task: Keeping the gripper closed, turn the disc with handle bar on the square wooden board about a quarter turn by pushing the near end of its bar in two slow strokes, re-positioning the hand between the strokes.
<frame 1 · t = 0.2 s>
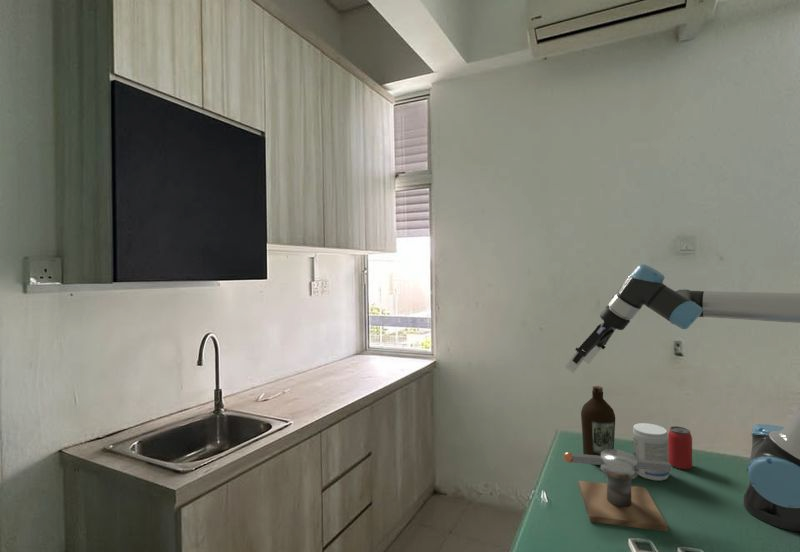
hand: (577, 365, 131), 35 cm above the table, tool tilted 35°, fingers open, 13 cm apart
supplement tub: (650, 474, 131), on the table
beer can: (680, 466, 136), on the table
disc with handle bar: (614, 463, 115), point 12 cm above the table, hinge at 0.0°
olive oil: (598, 459, 142), on the table
square wooden board: (619, 506, 115), on the table
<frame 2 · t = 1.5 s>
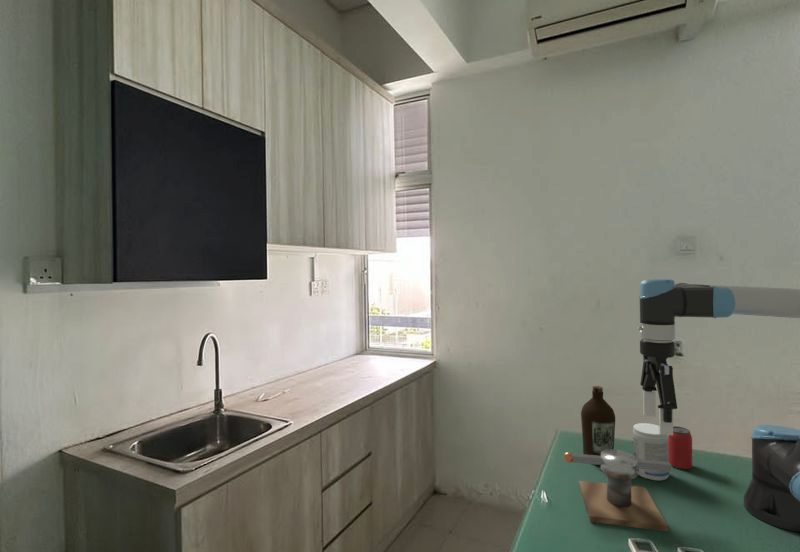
hand: (657, 424, 105), 26 cm above the table, tool pointing down, fingers open, 12 cm apart
nothing on the table moved.
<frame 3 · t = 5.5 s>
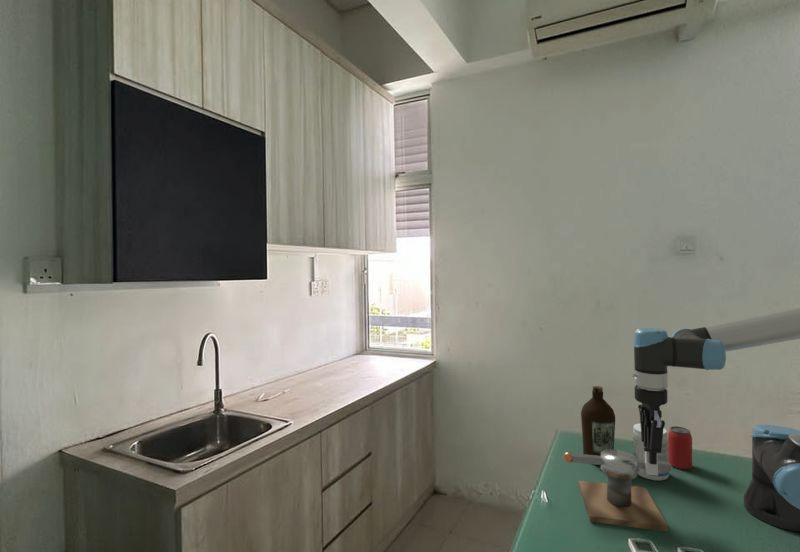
hand: (651, 473, 111), 11 cm above the table, tool pointing down, fingers closed
disc with handle bar: (614, 463, 115), point 12 cm above the table, hinge at 0.0°, touching gripper
everything else where it was.
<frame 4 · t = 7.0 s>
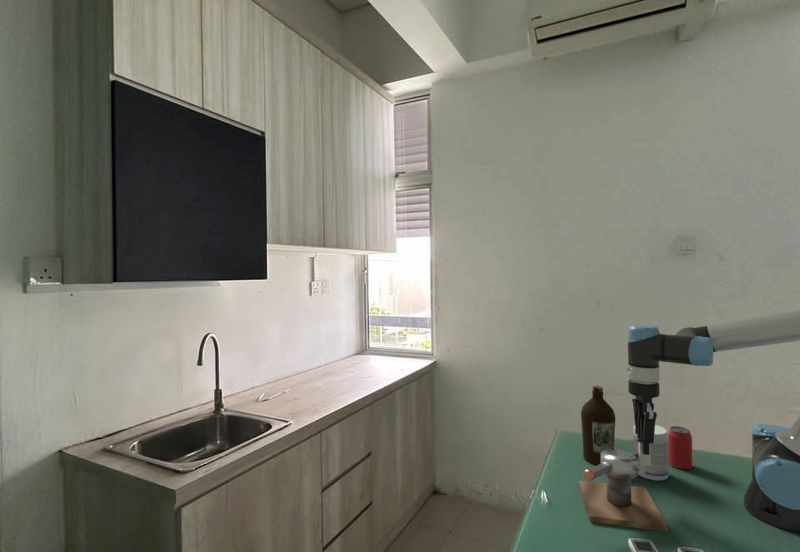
hand: (644, 463, 116), 11 cm above the table, tool pointing down, fingers closed
disc with handle bar: (616, 464, 114), point 12 cm above the table, hinge at 44.9°, touching gripper
everything else where it was.
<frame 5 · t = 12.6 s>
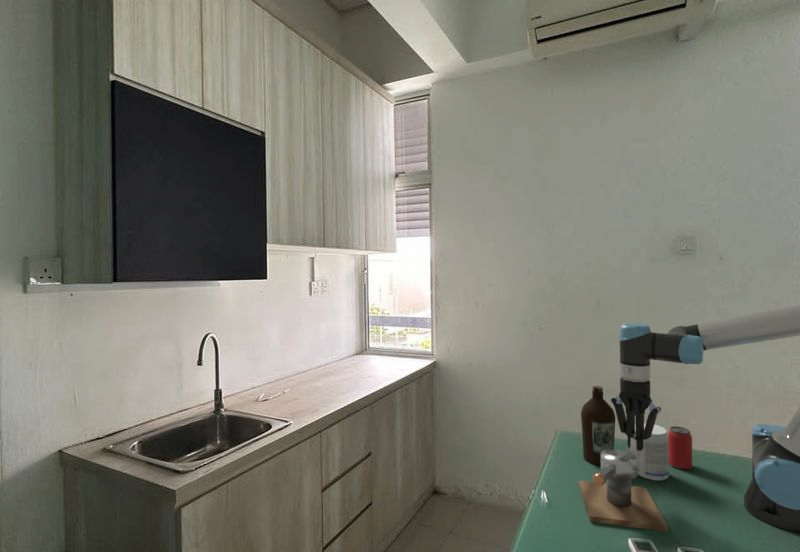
hand: (635, 459, 118), 11 cm above the table, tool pointing down, fingers closed
disc with handle bar: (617, 464, 114), point 12 cm above the table, hinge at 57.0°, touching gripper
everything else where it was.
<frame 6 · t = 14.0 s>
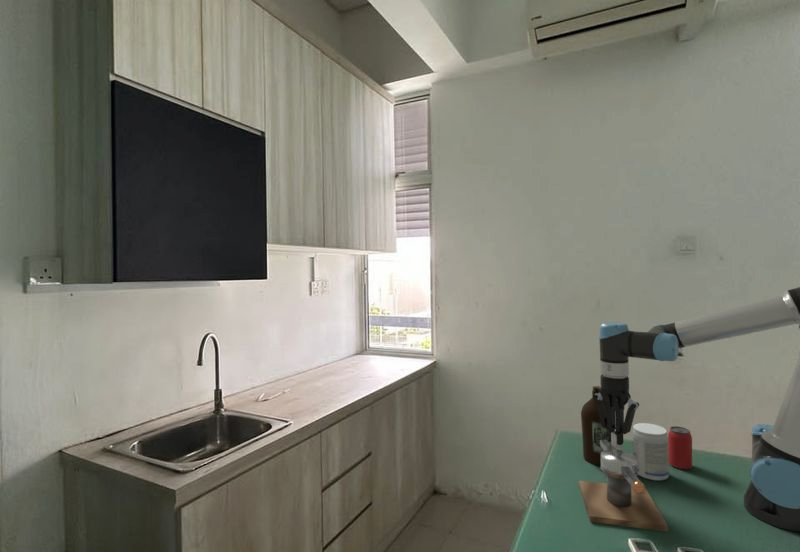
hand: (616, 453, 123), 11 cm above the table, tool pointing down, fingers closed
disc with handle bar: (620, 465, 113), point 12 cm above the table, hinge at 96.7°, touching gripper
everything else where it was.
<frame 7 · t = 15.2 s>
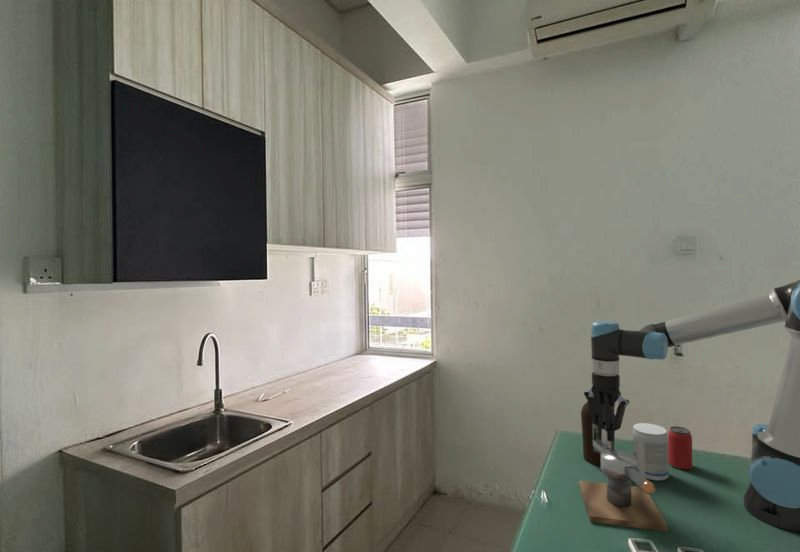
hand: (606, 450, 125), 11 cm above the table, tool pointing down, fingers closed
disc with handle bar: (620, 465, 113), point 12 cm above the table, hinge at 106.9°, touching gripper
everything else where it was.
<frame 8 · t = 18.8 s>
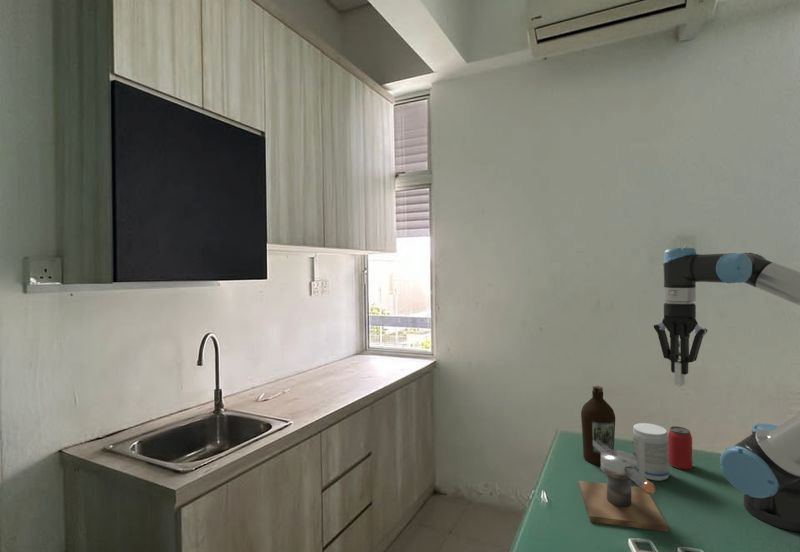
hand: (679, 384, 118), 32 cm above the table, tool pointing down, fingers closed
disc with handle bar: (620, 465, 113), point 12 cm above the table, hinge at 106.9°
everything else where it was.
at the end: disc with handle bar at +107° (first picture: +0°); the gripper is holding nothing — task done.
